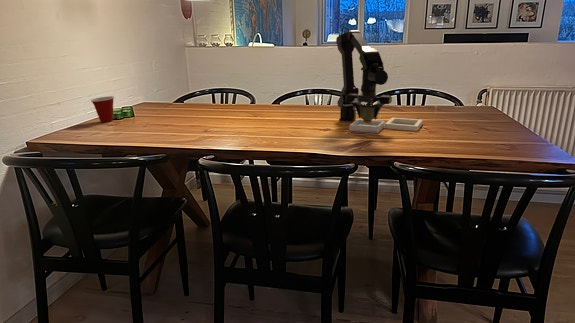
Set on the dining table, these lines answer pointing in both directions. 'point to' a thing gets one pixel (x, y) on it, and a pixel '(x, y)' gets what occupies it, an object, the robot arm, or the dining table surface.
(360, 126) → the grey tray
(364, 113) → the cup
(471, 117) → the dining table surface
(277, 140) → the dining table surface
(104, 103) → the plastic cup
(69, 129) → the dining table surface
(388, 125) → the white flat square frame
